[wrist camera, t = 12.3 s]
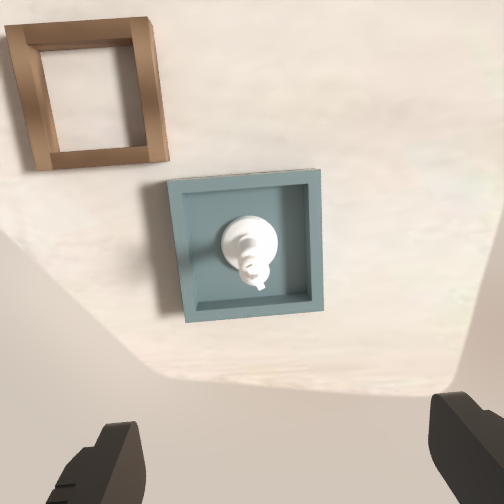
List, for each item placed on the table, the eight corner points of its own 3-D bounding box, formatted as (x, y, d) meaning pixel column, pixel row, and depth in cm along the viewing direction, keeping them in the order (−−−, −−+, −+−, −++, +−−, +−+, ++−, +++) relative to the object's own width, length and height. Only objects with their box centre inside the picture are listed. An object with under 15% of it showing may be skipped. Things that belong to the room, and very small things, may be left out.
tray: (172, 179, 30) (166, 181, 28) (313, 168, 31) (320, 169, 28) (189, 310, 33) (185, 322, 31) (317, 299, 34) (323, 310, 31)
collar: (18, 33, 27) (4, 25, 25) (152, 25, 27) (147, 16, 26) (48, 170, 30) (36, 170, 28) (169, 161, 30) (166, 161, 28)
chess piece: (238, 279, 32) (240, 332, 23) (210, 232, 31) (200, 266, 21) (287, 253, 32) (310, 295, 22) (261, 205, 31) (273, 227, 21)
